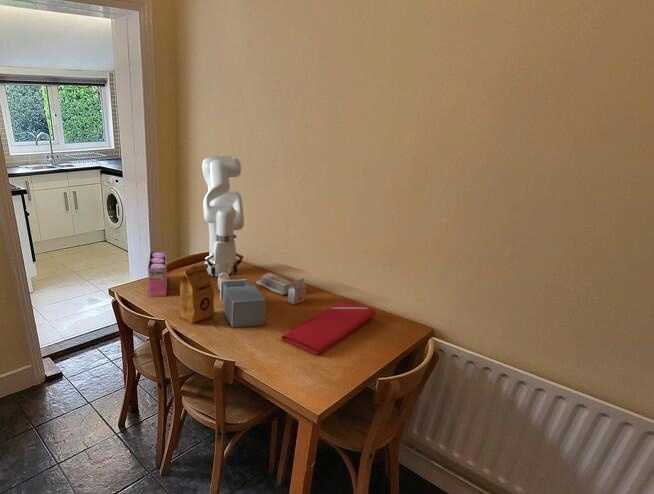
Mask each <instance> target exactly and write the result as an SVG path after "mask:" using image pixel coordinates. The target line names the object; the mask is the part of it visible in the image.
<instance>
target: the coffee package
mask: <svg viewBox="0 0 654 494" xmlns="http://www.w3.org/2000/svg"><path fill="white" fill-rule="evenodd" d="M207 269H208V264H207V263H206V264H204V263H203V264H199V265H193V266H191V267H189V268H185V269H184V272H183V274H182V277H181V280H180V286H179V297H180V299H179V300H180V302H179V303H180V304H179V305H180V318H181V319H183V320H186V321H187V322H188V323H193V324H194V323H197V322H199V321H202V320H206V319H208V318H211V317H214V314H215V303H214V300H215V292H214V285H213V283H212V280H211V278H210V275H209V274H208V271H207Z"/></svg>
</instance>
